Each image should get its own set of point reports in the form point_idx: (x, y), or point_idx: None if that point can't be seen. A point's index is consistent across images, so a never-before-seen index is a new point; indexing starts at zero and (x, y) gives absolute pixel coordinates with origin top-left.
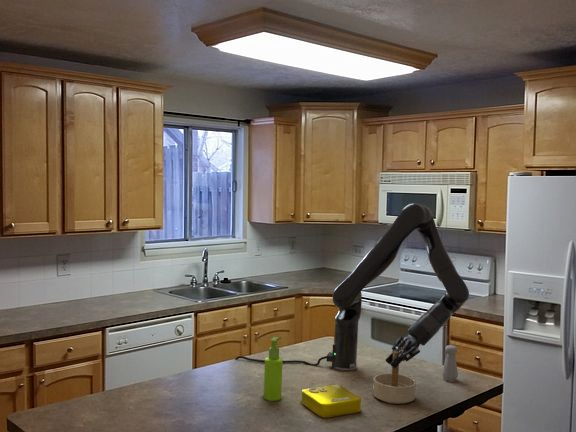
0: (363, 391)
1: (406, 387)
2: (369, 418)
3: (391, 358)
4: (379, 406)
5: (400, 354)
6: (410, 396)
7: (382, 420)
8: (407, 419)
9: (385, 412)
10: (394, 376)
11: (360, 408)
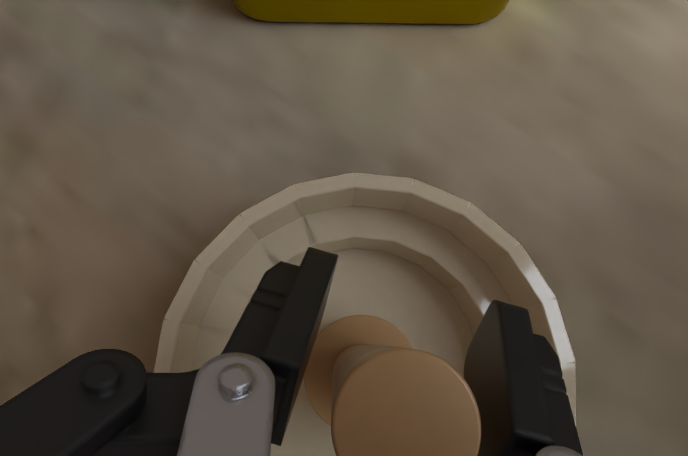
0: (537, 229)
1: (156, 357)
2: (134, 6)
3: (486, 387)
4: (259, 166)
5: (213, 396)
6: None
7: (74, 54)
8: (5, 199)
9: (161, 142)
10: (344, 353)
11: (237, 2)
